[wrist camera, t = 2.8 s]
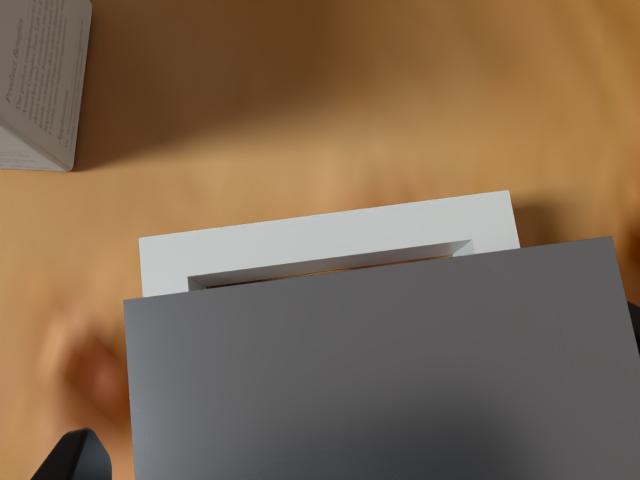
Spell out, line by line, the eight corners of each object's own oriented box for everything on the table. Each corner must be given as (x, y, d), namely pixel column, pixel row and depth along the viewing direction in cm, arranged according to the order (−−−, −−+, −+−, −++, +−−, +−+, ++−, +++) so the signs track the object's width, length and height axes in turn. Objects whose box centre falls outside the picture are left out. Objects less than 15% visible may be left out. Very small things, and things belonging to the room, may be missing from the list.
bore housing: (549, 558, 16) (589, 594, 14) (192, 607, 16) (168, 653, 14) (483, 212, 18) (508, 189, 16) (164, 253, 18) (138, 237, 15)
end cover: (465, 491, 17) (934, 958, 4) (256, 520, 16) (18, 1095, 4) (430, 283, 18) (701, 106, 5) (235, 309, 18) (-4, 196, 5)
